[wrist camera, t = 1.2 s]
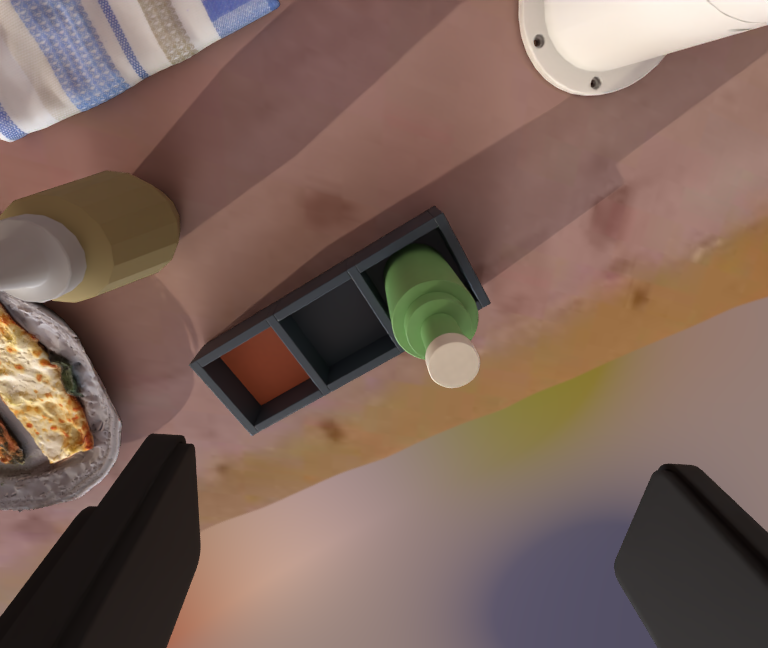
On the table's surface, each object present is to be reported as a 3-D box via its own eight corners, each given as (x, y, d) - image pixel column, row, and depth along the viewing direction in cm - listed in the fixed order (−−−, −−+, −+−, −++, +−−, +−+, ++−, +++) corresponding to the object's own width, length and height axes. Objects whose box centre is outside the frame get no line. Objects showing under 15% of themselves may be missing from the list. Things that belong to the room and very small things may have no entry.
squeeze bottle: (201, 185, 36) (67, 222, 19) (187, 277, 39) (59, 378, 22) (97, 154, 35) (-145, 164, 18) (90, 251, 37) (-124, 337, 21)
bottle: (428, 230, 38) (479, 294, 22) (458, 285, 40) (525, 380, 24) (371, 265, 39) (379, 350, 23) (403, 317, 41) (432, 428, 25)
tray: (434, 205, 37) (443, 212, 34) (479, 288, 41) (491, 303, 37) (203, 345, 41) (188, 365, 38) (260, 411, 44) (251, 436, 41)
